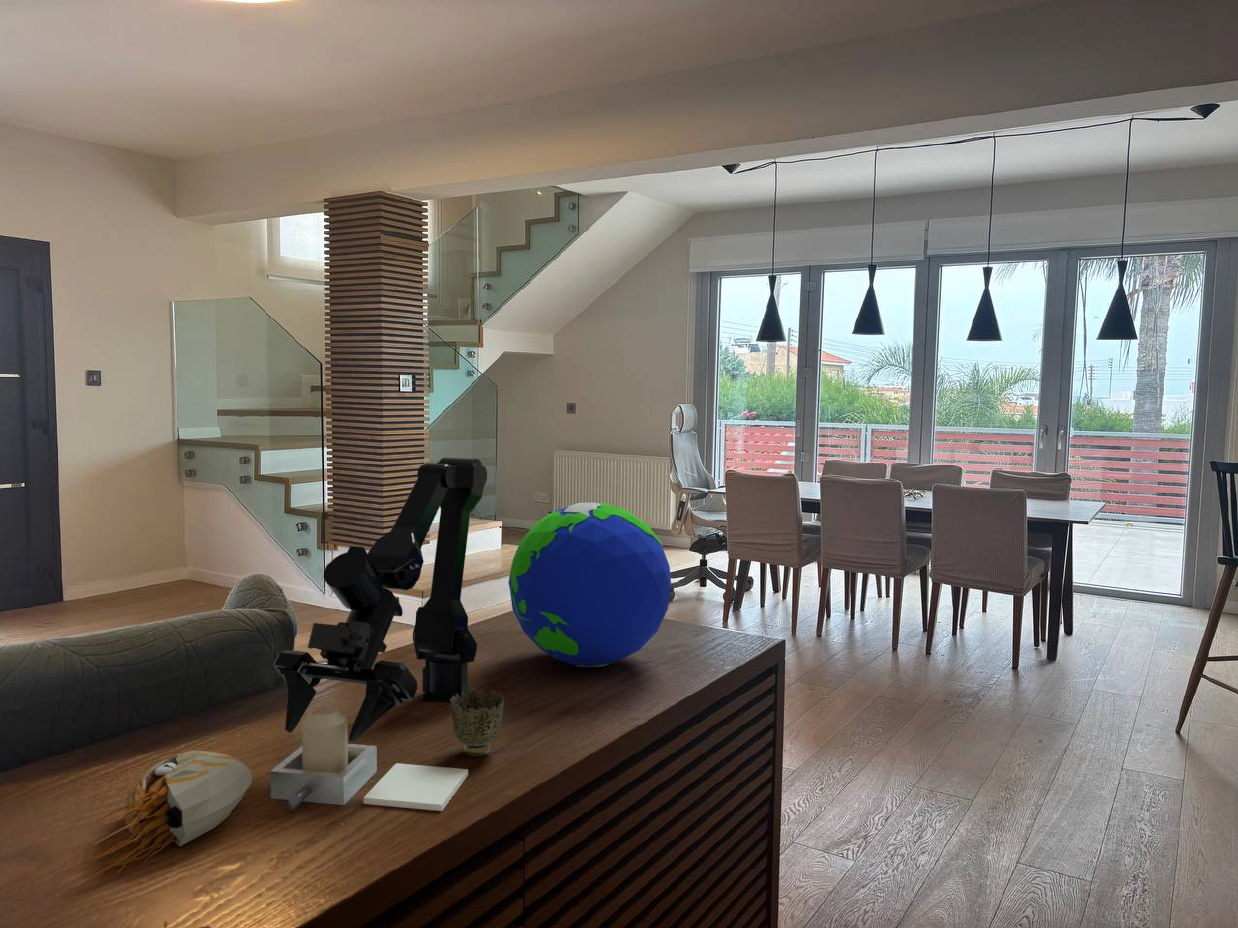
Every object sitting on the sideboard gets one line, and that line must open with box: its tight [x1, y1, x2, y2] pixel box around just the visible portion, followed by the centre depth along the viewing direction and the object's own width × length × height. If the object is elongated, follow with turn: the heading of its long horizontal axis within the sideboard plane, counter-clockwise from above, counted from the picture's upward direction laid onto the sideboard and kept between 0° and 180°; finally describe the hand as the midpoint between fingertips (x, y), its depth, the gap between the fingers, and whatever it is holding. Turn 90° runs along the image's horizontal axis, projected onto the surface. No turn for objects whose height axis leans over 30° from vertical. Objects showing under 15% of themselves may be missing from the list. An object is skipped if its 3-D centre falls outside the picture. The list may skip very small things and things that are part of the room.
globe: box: [508, 502, 672, 668], centre depth 164 cm, size 30×30×30 cm
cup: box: [449, 688, 505, 758], centre depth 125 cm, size 8×7×8 cm
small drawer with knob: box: [269, 743, 378, 811], centre depth 113 cm, size 10×14×4 cm
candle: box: [301, 704, 349, 773], centre depth 114 cm, size 6×6×10 cm
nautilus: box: [83, 750, 253, 876], centre depth 101 cm, size 8×22×15 cm
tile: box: [363, 762, 469, 812], centre depth 114 cm, size 10×10×1 cm
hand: (319, 735), depth 113 cm, fingers open, 9 cm apart
